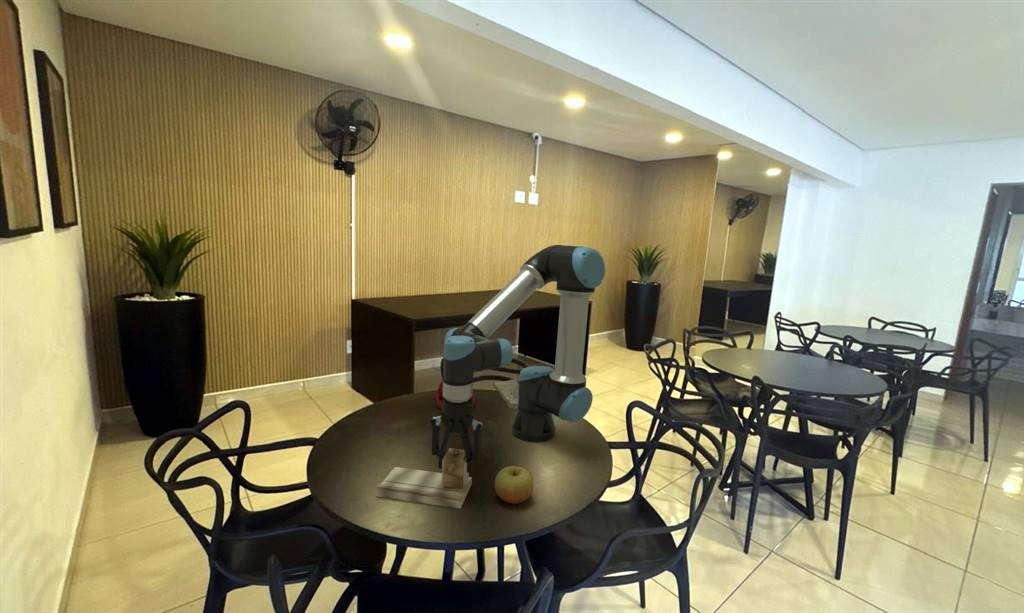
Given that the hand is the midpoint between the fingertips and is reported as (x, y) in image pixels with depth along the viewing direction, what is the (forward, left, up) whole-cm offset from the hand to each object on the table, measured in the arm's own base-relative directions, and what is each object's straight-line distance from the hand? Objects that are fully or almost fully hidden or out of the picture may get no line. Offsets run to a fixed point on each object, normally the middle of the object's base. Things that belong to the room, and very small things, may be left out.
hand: (455, 480), depth 114 cm
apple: (-15, 0, -3) cm, 16 cm away
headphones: (+17, -57, -3) cm, 60 cm away
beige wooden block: (0, +1, 0) cm, 1 cm away
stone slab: (-6, -69, -3) cm, 70 cm away
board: (+8, +2, -3) cm, 8 cm away
